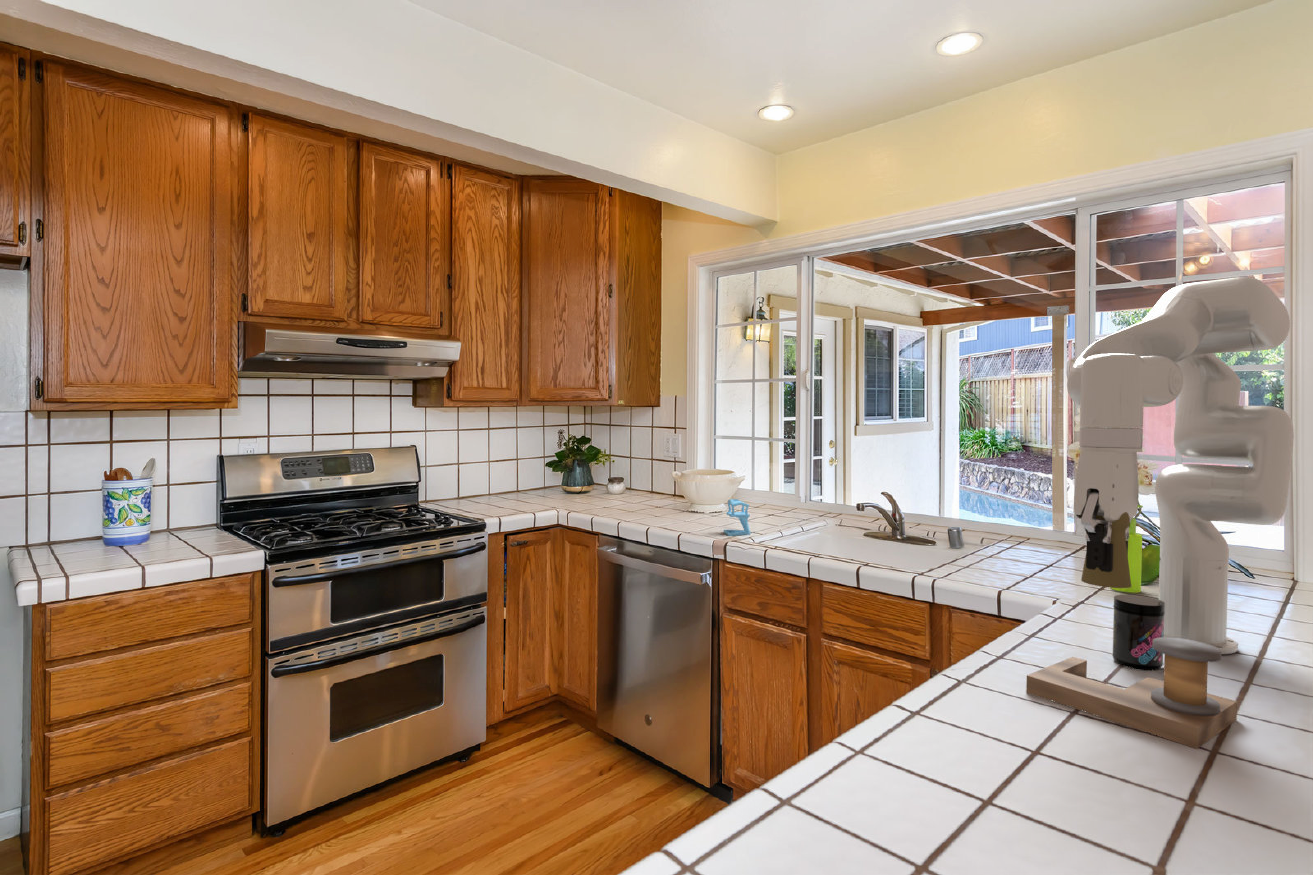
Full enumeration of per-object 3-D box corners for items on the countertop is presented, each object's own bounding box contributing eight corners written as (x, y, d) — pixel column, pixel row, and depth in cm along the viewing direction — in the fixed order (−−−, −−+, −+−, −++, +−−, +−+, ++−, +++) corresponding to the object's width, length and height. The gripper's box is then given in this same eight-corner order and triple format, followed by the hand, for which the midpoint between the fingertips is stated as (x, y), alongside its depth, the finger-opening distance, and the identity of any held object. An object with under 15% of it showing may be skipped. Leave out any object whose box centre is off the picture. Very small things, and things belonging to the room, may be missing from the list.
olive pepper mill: (1084, 576, 102) (1086, 503, 102) (1133, 582, 98) (1135, 506, 98) (1078, 583, 97) (1080, 506, 97) (1129, 590, 93) (1131, 510, 93)
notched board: (1072, 672, 105) (1074, 608, 105) (1236, 720, 89) (1238, 643, 88) (1026, 692, 97) (1027, 622, 97) (1197, 748, 81) (1199, 664, 81)
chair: (752, 535, 228) (753, 500, 228) (728, 536, 227) (729, 500, 227) (746, 532, 236) (747, 497, 236) (723, 532, 235) (723, 497, 235)
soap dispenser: (1149, 591, 157) (1152, 505, 157) (1129, 593, 155) (1132, 506, 154) (1124, 585, 163) (1126, 502, 162) (1104, 587, 160) (1106, 503, 160)
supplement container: (1120, 669, 107) (1122, 603, 107) (1105, 655, 113) (1107, 593, 113) (1170, 674, 105) (1173, 607, 105) (1152, 659, 112) (1154, 596, 111)
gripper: (1107, 440, 105) (1103, 558, 105) (1054, 440, 95) (1050, 570, 96) (1164, 441, 99) (1160, 566, 99) (1114, 442, 89) (1110, 580, 90)
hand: (1106, 567), depth 97 cm, fingers closed on olive pepper mill, 4 cm apart
